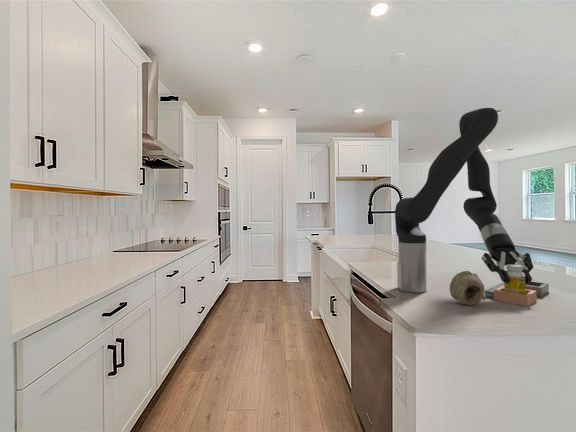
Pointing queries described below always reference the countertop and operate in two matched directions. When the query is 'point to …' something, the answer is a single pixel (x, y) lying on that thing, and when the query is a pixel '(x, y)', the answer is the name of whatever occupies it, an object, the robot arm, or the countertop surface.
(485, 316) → the countertop surface
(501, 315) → the countertop surface
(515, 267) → the supplement bottle
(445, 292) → the countertop surface
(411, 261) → the robot arm
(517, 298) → the marked socket
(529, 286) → the rail
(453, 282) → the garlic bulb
